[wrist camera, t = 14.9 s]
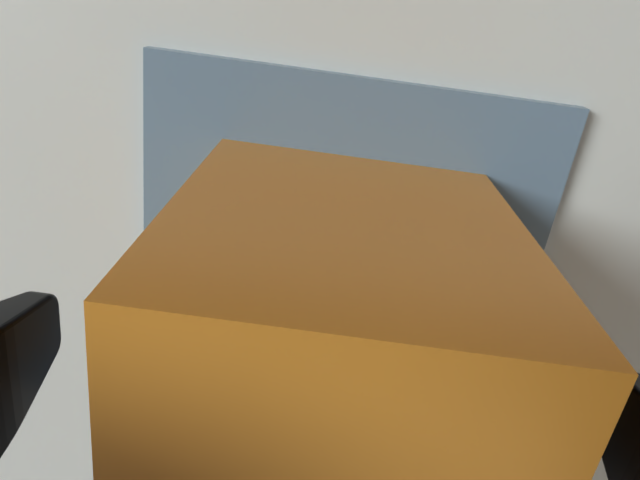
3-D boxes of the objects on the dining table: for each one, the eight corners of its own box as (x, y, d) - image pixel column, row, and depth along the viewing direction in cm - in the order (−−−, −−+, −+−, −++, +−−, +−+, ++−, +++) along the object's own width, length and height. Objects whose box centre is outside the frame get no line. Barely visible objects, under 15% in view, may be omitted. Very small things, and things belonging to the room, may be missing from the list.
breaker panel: (508, 627, 19) (528, 704, 17) (51, 569, 19) (15, 640, 17) (771, 15, 11) (869, 21, 9) (-20, -97, 11) (-104, -117, 9)
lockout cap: (430, 386, 12) (495, 693, 7) (209, 357, 12) (102, 644, 7) (486, 174, 10) (637, 374, 5) (222, 138, 10) (83, 300, 5)
